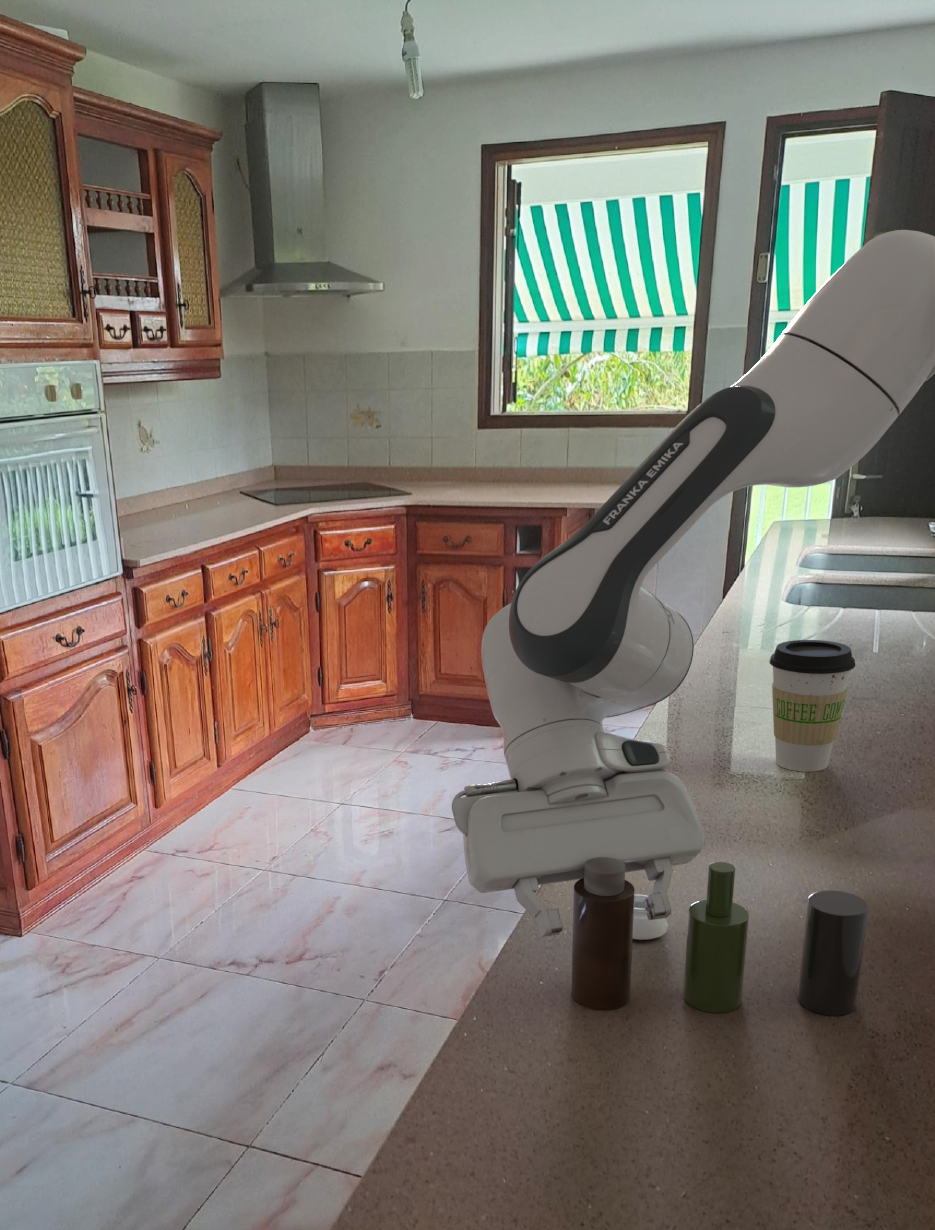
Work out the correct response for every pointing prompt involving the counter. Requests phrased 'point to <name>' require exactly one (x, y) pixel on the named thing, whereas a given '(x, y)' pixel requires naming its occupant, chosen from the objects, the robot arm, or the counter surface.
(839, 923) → the dark grey cylinder
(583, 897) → the pepper mill
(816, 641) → the coffee cup
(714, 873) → the oil cruet
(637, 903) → the white jar
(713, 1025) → the counter surface
